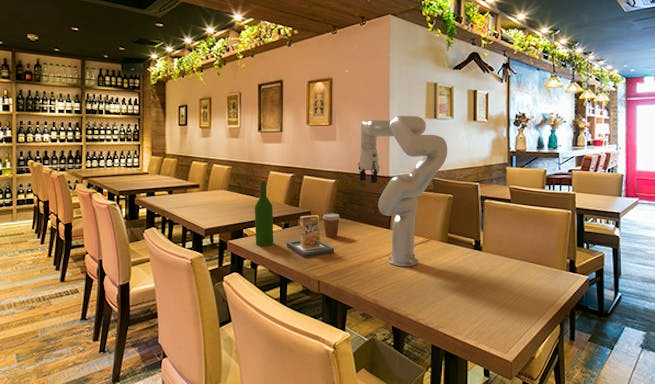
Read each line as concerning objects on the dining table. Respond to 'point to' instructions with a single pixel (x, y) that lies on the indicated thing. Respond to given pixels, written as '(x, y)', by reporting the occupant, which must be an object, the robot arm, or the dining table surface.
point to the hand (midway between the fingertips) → (368, 181)
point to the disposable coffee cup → (331, 224)
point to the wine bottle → (263, 219)
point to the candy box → (310, 231)
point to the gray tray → (310, 249)
